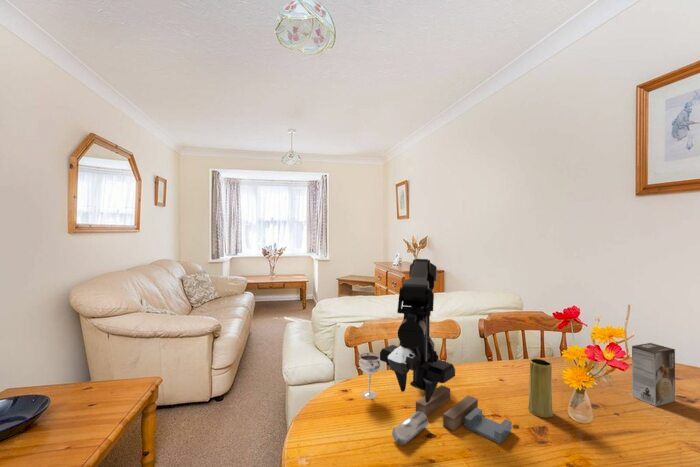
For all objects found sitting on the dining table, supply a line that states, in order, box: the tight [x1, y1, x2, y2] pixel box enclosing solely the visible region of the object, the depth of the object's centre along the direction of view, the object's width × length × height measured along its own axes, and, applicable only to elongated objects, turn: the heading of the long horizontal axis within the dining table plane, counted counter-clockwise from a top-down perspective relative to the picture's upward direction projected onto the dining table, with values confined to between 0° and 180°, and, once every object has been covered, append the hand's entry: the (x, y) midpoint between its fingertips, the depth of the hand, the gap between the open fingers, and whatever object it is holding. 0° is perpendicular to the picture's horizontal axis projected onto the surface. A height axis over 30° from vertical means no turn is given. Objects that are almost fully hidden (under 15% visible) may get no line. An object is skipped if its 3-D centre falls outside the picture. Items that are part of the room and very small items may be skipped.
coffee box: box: [631, 342, 676, 407], centre depth 98 cm, size 9×6×16 cm
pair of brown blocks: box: [415, 384, 479, 432], centre depth 90 cm, size 12×14×3 cm
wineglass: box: [358, 352, 381, 400], centre depth 100 cm, size 7×7×12 cm
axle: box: [391, 411, 429, 447], centre depth 80 cm, size 10×4×4 cm
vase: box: [527, 358, 554, 419], centre depth 90 cm, size 6×6×14 cm
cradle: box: [463, 407, 513, 445], centre depth 82 cm, size 9×7×3 cm
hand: (414, 396), depth 79 cm, fingers open, 7 cm apart
